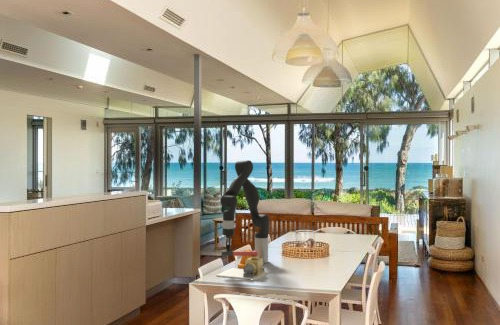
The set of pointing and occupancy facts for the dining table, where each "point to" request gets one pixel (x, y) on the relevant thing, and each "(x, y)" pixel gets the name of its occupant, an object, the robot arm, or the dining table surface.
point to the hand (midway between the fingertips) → (228, 255)
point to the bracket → (243, 260)
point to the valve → (253, 267)
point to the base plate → (239, 274)
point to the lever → (239, 253)
